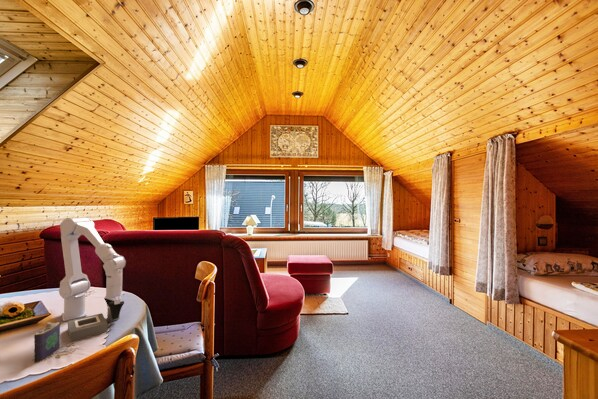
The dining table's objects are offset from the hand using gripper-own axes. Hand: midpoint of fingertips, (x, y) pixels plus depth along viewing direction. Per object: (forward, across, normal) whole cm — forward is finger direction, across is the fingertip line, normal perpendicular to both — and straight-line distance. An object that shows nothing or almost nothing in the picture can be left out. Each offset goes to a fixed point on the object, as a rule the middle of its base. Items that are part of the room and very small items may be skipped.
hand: (113, 315), depth 115 cm
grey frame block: (+2, -5, +10) cm, 11 cm away
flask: (+2, -16, +21) cm, 26 cm away
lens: (+2, 0, 0) cm, 2 cm away
